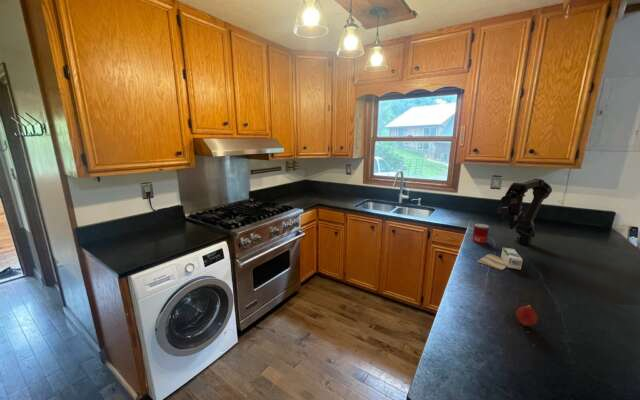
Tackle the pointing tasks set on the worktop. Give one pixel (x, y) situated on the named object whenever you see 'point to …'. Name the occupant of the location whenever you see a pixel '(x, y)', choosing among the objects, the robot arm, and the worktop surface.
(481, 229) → the canned food
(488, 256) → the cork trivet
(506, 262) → the syrup box
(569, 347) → the worktop surface
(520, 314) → the onion
